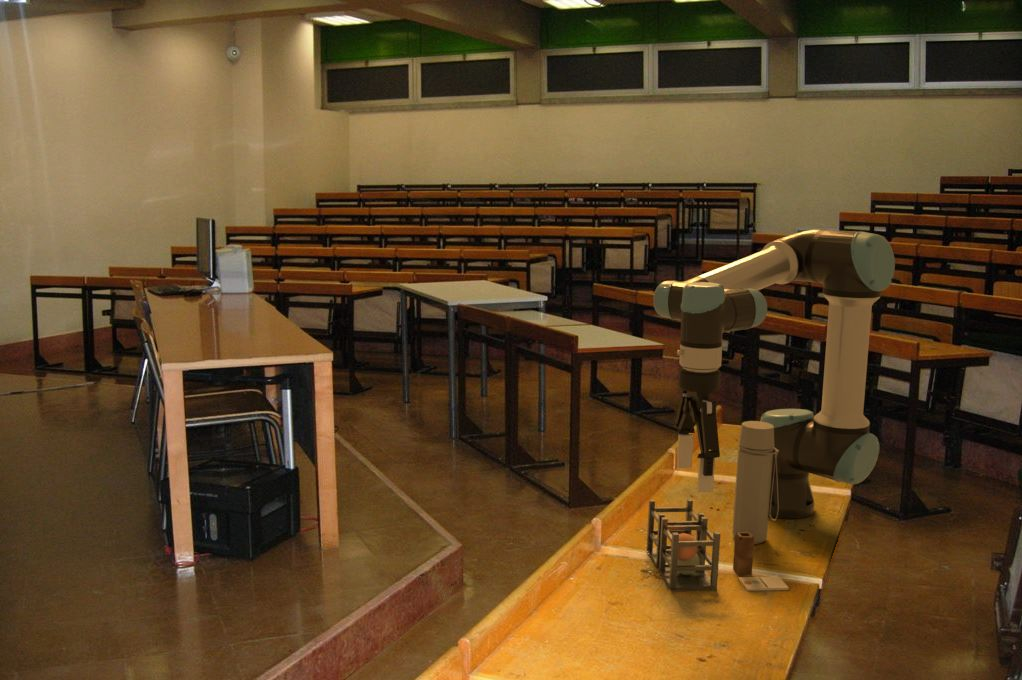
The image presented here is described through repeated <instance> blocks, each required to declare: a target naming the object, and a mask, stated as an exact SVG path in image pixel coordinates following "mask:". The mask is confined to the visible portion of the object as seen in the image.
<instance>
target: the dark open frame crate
mask: <svg viewBox="0 0 1022 680" xmlns="http://www.w3.org/2000/svg"><path fill="white" fill-rule="evenodd" d="M668 521H669V518H668V517H666V516H665V517H662V519H661V537H660V556H659V569H658V573H659V575H660V576H661V578H662V579H663V581H664V583H665V585H666V586H667V588H668V589H669V591H670V592H681V591H684V592H685V591H686V592H687V591H717V590H718V576H719V560H720V546H721V533H720V531H713V532H711V531H710V529H709V528H708V523H709V518H708V517H707V516H704V517H701V525H677V526H668ZM684 530H691V531H697V530H700V541H679V534H678V532H677V533H672V534H671V533H670V531H684ZM707 538H708V539H709V540H707ZM668 541H669V542H670V544H671V543H672V546H671V549H666V547H667V545H668V544H667V542H668ZM679 546H699V549H698V550H697V554H699V560H700V565H686V566H677V562H678V547H679ZM707 547H712V548H711V549H712V550H711V551H712V552H711V556H710V555H709V553H708V552H707ZM668 554H671V559H670V557H669V556H668ZM666 562H667V564H668V565H669V567H665V565H666ZM706 562H707V564H706ZM678 571H696V572H695V573H693V574H691V575H683V574H680V573H679V572H678ZM708 571H710V573H708Z"/></svg>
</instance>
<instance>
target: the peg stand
mask: <svg viewBox="0 0 1022 680" xmlns="http://www.w3.org/2000/svg"><path fill="white" fill-rule="evenodd" d="M754 547H755V544H754V536H753V535H752V534H751V533H748V532H737V533H736V535H735V538H734V548H733V560H732V561H733V563H732V569H733V570H734V572H735V573H736V575H738V576H740V575H742V576H743V575H744V576H745V575H750V576H751V575H753V564H754V563H753V560H754V549H755V548H754Z"/></svg>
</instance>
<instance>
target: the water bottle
mask: <svg viewBox="0 0 1022 680" xmlns="http://www.w3.org/2000/svg"><path fill="white" fill-rule="evenodd" d="M760 421H761V420H747V421H743V422H741V425H740V426H741V427H740V431H739V438H738V442H737V446H738V448H737V461H736V474H735V475H736V476H735V478H736V479H735V487H734V488H735V489H734V491H735V492H734V502H733V503H734V504H733V505H734V507H733V517H732V520H733V521H732V533H731V534H732V535H733V538H734V539H735V535H736V533H737V532H748V533H751V534H752V535H753V536H754V545H758V544H762V543H764V542H765V541H766V540H767V538H768V526H769V518H770V520H771V521H774V522H776V521H777V519H778V518H777V517H775V518H773V517H771V514H770V512H771V502H772V492H773V483H772V492H771V501H770V488H771V475H772V461H773V454H775V462H776V476H777V454H778V451H779V450H777V449H776V448H774V426H773V425H772V424H769V423H766V422H760ZM774 449H775V450H776V451H775V453H773V452H772V450H774ZM774 472H775V465H774ZM773 482H774V474H773ZM777 501H778V511H779V500H778V479H777ZM769 502H770V510H769ZM778 511H777V516H778ZM768 515H769V516H768Z"/></svg>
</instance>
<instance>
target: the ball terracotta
mask: <svg viewBox="0 0 1022 680" xmlns="http://www.w3.org/2000/svg"><path fill="white" fill-rule="evenodd" d="M694 537H695V536H694ZM694 537H693V536H691V535H689V534H686V533H682V534H679V541H696V540H695V538H696V537H695V538H694ZM670 545H671V546H672V543H671V542H670ZM697 550H698V546H679V547H678V559H679V560H683V561H687V560H690V559H692V558H693V557H694V556H695V555H696V553H697Z"/></svg>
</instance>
